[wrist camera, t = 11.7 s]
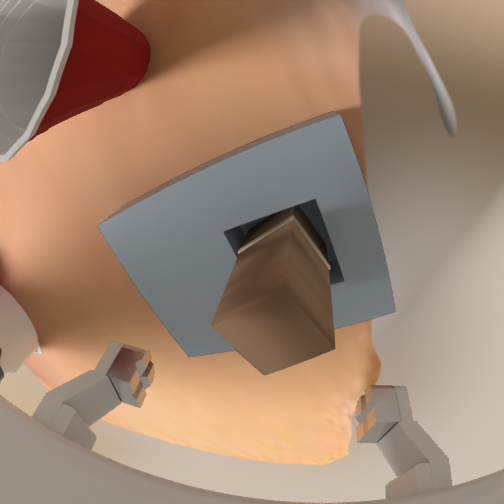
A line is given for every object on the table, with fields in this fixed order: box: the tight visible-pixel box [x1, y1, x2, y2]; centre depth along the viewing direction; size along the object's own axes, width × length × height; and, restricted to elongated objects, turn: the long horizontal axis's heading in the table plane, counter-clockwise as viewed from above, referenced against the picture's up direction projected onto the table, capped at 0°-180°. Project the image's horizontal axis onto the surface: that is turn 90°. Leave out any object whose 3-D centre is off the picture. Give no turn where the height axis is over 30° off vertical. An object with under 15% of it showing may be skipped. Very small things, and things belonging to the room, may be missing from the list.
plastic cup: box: [0, 0, 150, 163], centre depth 12 cm, size 11×11×12 cm
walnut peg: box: [210, 205, 335, 375], centre depth 17 cm, size 4×4×10 cm
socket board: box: [97, 112, 396, 357], centre depth 21 cm, size 18×14×4 cm
